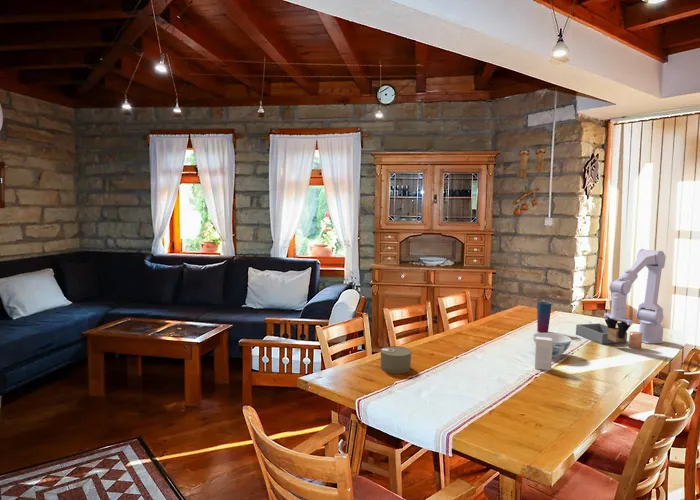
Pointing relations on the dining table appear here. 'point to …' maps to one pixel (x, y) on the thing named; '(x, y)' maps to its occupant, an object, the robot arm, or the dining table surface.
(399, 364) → the can
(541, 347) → the skincare box
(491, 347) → the dining table surface
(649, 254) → the robot arm
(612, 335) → the walnut cube
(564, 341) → the chinaware
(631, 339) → the terracotta cylinder
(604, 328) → the tote
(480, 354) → the dining table surface
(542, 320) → the cup
